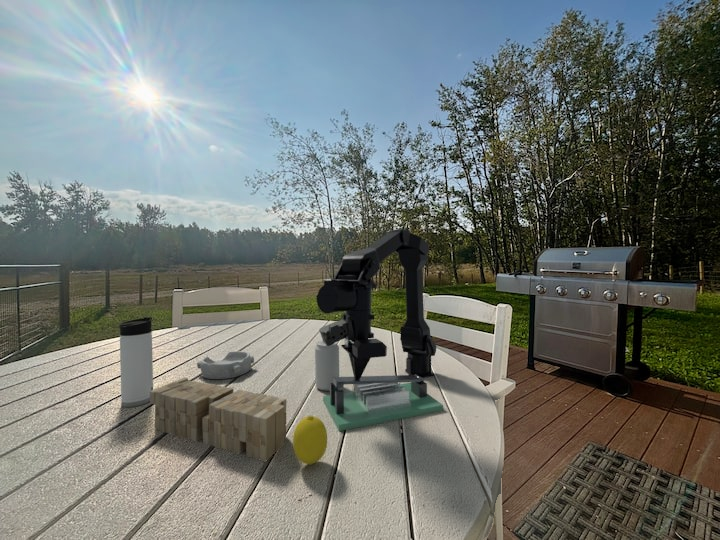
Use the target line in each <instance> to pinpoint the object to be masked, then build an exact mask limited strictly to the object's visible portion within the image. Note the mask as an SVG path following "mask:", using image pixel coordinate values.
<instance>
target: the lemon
mask: <svg viewBox="0 0 720 540" xmlns="http://www.w3.org/2000/svg"><path fill="white" fill-rule="evenodd" d="M292 446H293V447H292V448H293V452H294V454H295V456H296V458H297V459H298V460H299V461H300V462H301V463H303V464H306V465H309V466H312V465H313V464H315V463H317V462H319V461H320V460H321V459H322V458H323V456H324V455H325V453H326V451H327V447H328V432H327V428H326V426H325V423H324V422H323V421H322V420H321V419H320V418H319V417H317V416H313V415H311V414H309V415H308V416H305V417H304V418H302V419H301V420H299V422H298V423H297V425H296V426H295V430H294V431H293V436H292Z"/></svg>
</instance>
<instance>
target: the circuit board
mask: <svg viewBox="0 0 720 540" xmlns="http://www.w3.org/2000/svg"><path fill="white" fill-rule="evenodd" d="M400 384H401V387H402V386H404V387H405V390H409V401H410V402H411V406H410V407H404V408H399V409H393V410H388V411H383V412H377V413H372V414H368V413H367V412H366V410H365V409H364V408H363V407H362V405H361V404H360V403H359V402H358V400H357V399H356V398H355V396H354V395H353V391H347V392H344V413H343V414H336V413H335V405H331V404H330V394H328V395H323V396H322V402H323V404H324V405H325V408H326V410H327V411H328V413H329V415H330V417H331V419H332V421H333V423H334V424H335V426H336V429H337V430H338V432H341V431H346V430H352V429H355V428H361V427H365V426H366V427H367V426H370V425H376V424H381V423H386V422H391V421H392V422H393V421H396V420H402V419H407V418H411V417H417V416H422V415H426V414H431V413H437V412H442V411H444V405H443V404H442V403H441V402H439V401H438V400H437V399H436V398H434V397H432V396H431V395H430V394H429V393H427V397H422V398H419V397H418V396H416V395H415V394H414V393H413V392H411V382H404V383H400Z"/></svg>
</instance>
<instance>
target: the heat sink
mask: <svg viewBox="0 0 720 540" xmlns="http://www.w3.org/2000/svg"><path fill="white" fill-rule="evenodd" d="M410 383H411V392H413V393H414V394H415V395H416V396H418V397H419V398H422V397H427V394H428V383H427V382H425V381H424V382H422V383H421V382H410ZM401 384H402V383H371V384H353V387H354V388H353V391H352V392H353V395H354V396H355V398H356V399H357V400H358V402H359V403H360V404H361V405H362V407H363V408H364V409H365V410H366V412H367V413H368V414H372V413H377V412H383V411H388V410H393V409H399V408H404V407H410V406H411V402H410V401H409V390H405V387H404V386H402V387H401ZM344 393H345V392H344V390H343V389H339V387H335V385H334V384H333V383H330V391H329V395H330V404H331V405H335V413H336V414H343V413H344Z"/></svg>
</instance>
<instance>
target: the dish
mask: <svg viewBox="0 0 720 540" xmlns="http://www.w3.org/2000/svg"><path fill="white" fill-rule="evenodd" d="M254 362H255V357H254V355H251V354H250V353H249V352H247V351H242V350H241V351H239V350H237V351H234V350H233V351H229V352H228V353H227V354H226V356H225V357H223V359H221V360H217V361H214V360H213V359H211V358H210V357H209V356H205V357H204V358H201V359H200V360H197V361H196V366H197V369H200V371H201V372H200V373H201V375H202V377H203V378H205V379H210V380H223V379H231V378H235V377H241V376H243V375H244V374H246V373H248V372H249V371H250V370H251V369H252V364H254Z"/></svg>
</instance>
